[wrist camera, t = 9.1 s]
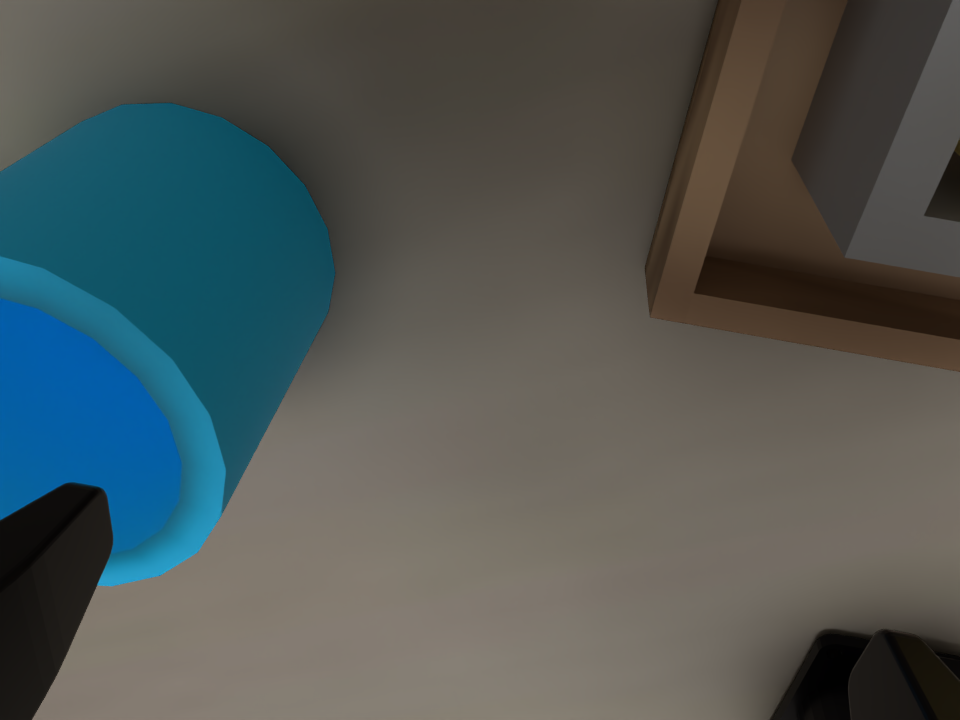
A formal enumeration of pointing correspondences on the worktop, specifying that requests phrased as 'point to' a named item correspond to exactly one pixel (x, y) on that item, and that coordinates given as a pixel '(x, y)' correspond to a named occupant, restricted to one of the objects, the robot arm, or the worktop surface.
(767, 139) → the walled box
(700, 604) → the worktop surface
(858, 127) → the socket
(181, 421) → the mug
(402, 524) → the worktop surface
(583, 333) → the worktop surface
